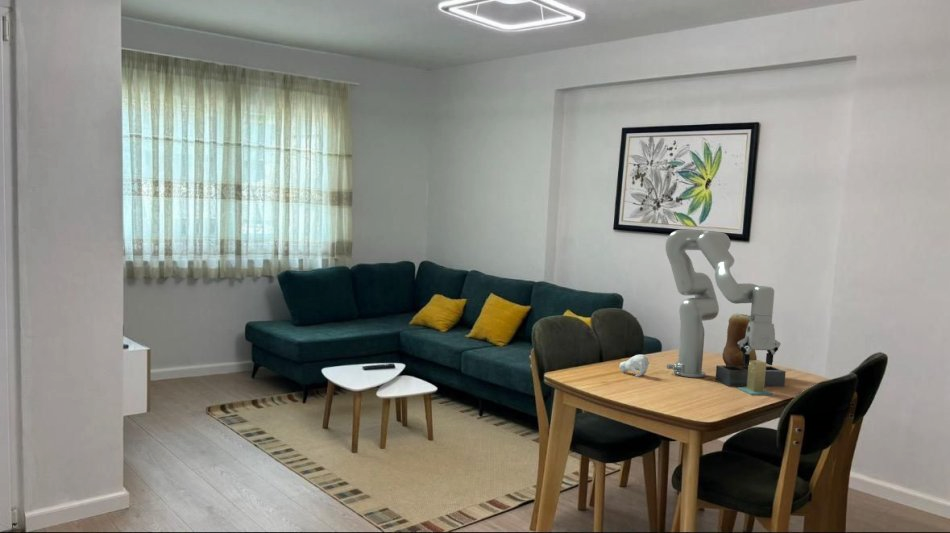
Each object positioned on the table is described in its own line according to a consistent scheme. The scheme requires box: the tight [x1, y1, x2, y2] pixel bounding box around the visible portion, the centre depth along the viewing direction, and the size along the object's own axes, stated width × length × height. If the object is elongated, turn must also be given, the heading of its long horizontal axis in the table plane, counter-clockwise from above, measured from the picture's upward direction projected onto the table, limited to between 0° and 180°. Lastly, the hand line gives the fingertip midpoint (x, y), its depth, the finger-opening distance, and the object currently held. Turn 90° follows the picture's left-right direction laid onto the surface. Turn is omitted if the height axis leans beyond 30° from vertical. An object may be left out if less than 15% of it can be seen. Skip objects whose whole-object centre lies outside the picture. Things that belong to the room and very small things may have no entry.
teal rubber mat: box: [737, 387, 774, 396], centre depth 272 cm, size 9×9×1 cm
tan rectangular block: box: [747, 359, 767, 392], centre depth 271 cm, size 4×4×11 cm
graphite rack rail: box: [715, 365, 787, 388], centre depth 285 cm, size 24×10×6 cm, turn 102°
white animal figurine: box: [619, 354, 650, 378], centre depth 291 cm, size 6×8×12 cm
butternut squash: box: [722, 312, 758, 366], centre depth 304 cm, size 14×13×25 cm
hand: (757, 364), depth 271 cm, fingers open, 9 cm apart
